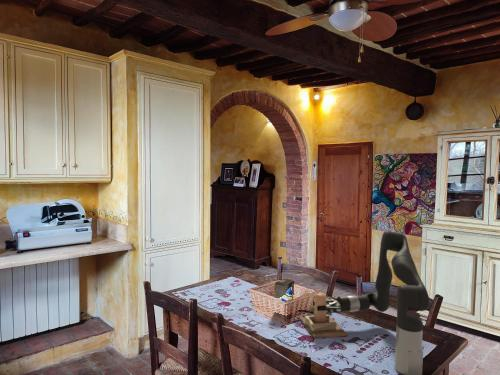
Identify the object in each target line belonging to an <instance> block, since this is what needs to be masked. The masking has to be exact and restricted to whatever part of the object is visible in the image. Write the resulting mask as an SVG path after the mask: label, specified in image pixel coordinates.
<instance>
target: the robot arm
mask: <svg viewBox="0 0 500 375" xmlns="http://www.w3.org/2000/svg"><path fill="white" fill-rule="evenodd" d="M408 242H409V241H408V239H407V236H406V235H405V234H404V233H401V232H396V231H392V230H385V231H383V233H382V235H381V239H380V247H379V257H378V258H379V259H378V269H377V274H376V280H375V282H374V283H375V284H374V287H375V291H376V292H375V291H374V292H373V291H372V292H369V293H366V294H364V295H363V294H362V295H342V296H341V295H340V296H339V295H338V296H337V297H336V299H335V298H334V299H333V298H332V297H327V296H326V297H327V298H326V303H327V305H324V306H317V310H318V311H328V313H332V314H340V313H341V314H342V313H351V312H358V311H367V310H368V311H369V309H370V308H371V307H374V308H375V309H376V310H377V311H378V312H380V313H384V312H387V310H389V307H390V304H391V290H390V289H391V286H392V283H393V282H392V281H393V274H394V275H395V277H396V278H397V279H398V280H399V281H401V282H402V283H403V284H399V285H398V287H397V291H396V333H395V334H396V335H395V350H394V352H395V354H394V355H395V356H394V369H395V371H396V372H398V373H399V374H401V375H423V360H424V351H423V331H424V330H423V329H424V322H423V321H422V320H421V318H419V317H417V316H415V315H413V314H411V313H409V312H408V311H412V312H413V311H414V312H415V311H416V312H423V311H424V312H425V311H427V310H429V307H430V296H429V292H428V290H427V288H426V285H425V284H424V282H423V281H422V279H421V277H420V274H419V272H418V269H417V267H416V264H415V261H414V260H413V257H412V255H411V252H410V248H409V243H408ZM388 251H392V252H396V253H395V254H394V255H393V256H392V259H391V266H390V262H389V260H388ZM391 267H392V268H391ZM392 271H393V272H392ZM331 298H332V299H331ZM313 306H315V301H313ZM370 306H371V307H370Z"/></svg>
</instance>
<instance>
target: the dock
mask: <svg viewBox="0 0 500 375" xmlns="http://www.w3.org/2000/svg"><path fill="white" fill-rule="evenodd" d="M299 320H300V322H302V324H303V326H304V327H305V328H306V330H307V331H308V333H309V334H310V335H311V337H312V338H313V339H320V338H321V339H322V338H323V339H324V338H333V337H334V338H337V337H347V336H348V333H347V332H346V331H345V329H344V328H343V327H341V326H340V324H338V323H337V322H336V320H335V319H333V317H332V316H331V315H330V314H326V322H325V323H317V322H315V321H314V315H305V316H304V317H300V318H299Z"/></svg>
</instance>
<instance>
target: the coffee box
mask: <svg viewBox="0 0 500 375" xmlns="http://www.w3.org/2000/svg"><path fill="white" fill-rule="evenodd" d="M290 287H292V289H293V295H294V296H295V280H291V279H289V278H283V279H280V280H279V281H275V291H274V292H275V296H274V298H280V297H282V296H283V295H285V293H286V291H287V290H288V289H289V288H290Z"/></svg>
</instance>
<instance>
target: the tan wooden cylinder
mask: <svg viewBox="0 0 500 375" xmlns="http://www.w3.org/2000/svg"><path fill="white" fill-rule="evenodd" d="M314 296H315V308H314V312H313V313H314V314H313V316H314V321H315V322H317V323H325V322H326V315H327V314H326V311H318V310H317V306H324V305H326V297H327V294H326V293H325V292H315V293H314Z"/></svg>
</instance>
